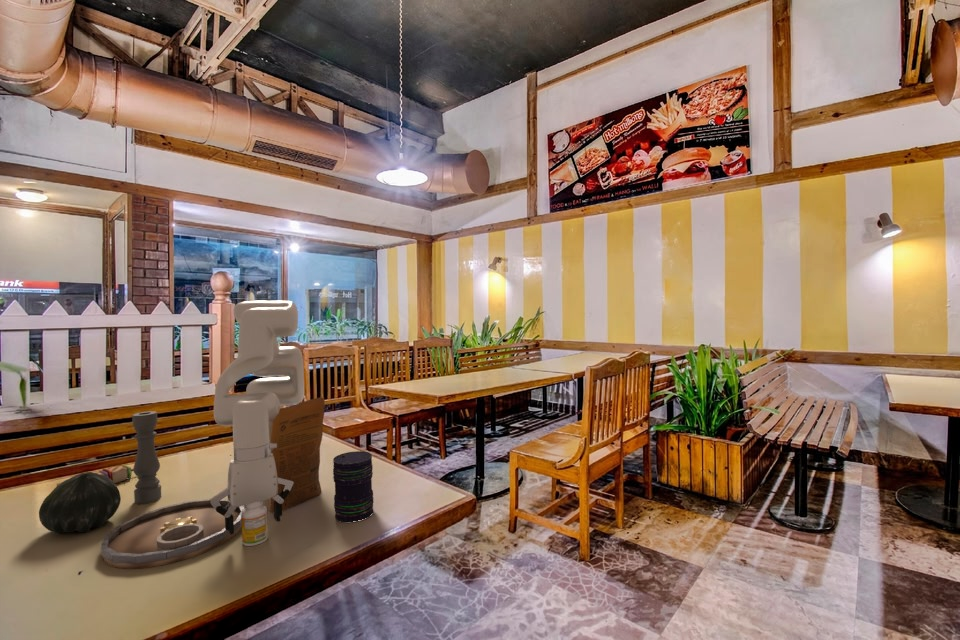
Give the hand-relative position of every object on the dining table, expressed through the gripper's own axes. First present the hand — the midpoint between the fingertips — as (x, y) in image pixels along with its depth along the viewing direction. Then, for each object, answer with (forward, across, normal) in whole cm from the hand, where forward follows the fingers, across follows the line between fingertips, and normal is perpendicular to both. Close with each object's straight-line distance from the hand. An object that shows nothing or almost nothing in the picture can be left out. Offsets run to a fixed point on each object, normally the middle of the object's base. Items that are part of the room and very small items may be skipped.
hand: (254, 525), depth 102 cm
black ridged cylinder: (+4, -23, +2) cm, 23 cm away
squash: (+4, +33, -36) cm, 49 cm away
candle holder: (+3, +20, -46) cm, 51 cm away
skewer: (+3, +31, -70) cm, 77 cm away
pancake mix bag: (+4, -14, -16) cm, 22 cm away
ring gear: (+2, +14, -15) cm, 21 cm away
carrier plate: (+3, +14, -15) cm, 21 cm away
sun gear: (+2, +14, -15) cm, 21 cm away
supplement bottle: (+4, 0, 0) cm, 4 cm away
